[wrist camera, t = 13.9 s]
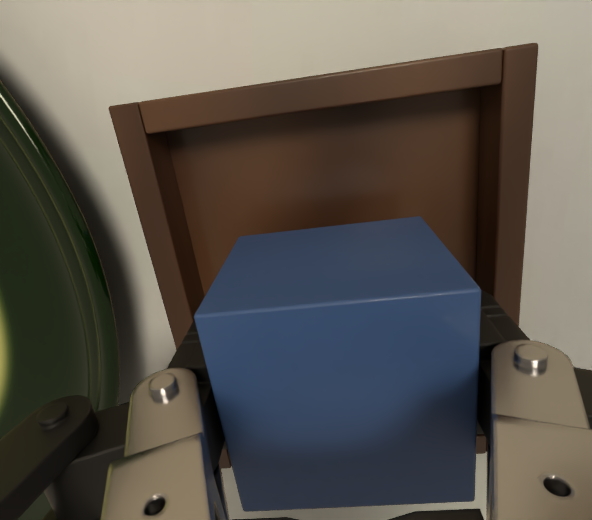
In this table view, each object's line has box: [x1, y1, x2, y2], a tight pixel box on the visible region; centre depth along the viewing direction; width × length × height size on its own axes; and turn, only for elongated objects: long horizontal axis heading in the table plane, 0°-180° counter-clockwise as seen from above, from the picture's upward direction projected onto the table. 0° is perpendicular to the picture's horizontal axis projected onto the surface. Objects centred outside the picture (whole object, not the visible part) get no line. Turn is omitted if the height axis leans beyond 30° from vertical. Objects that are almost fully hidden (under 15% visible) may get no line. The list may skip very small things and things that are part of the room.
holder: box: [109, 43, 538, 468], centre depth 14 cm, size 11×13×2 cm
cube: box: [194, 216, 481, 512], centre depth 10 cm, size 5×5×4 cm
